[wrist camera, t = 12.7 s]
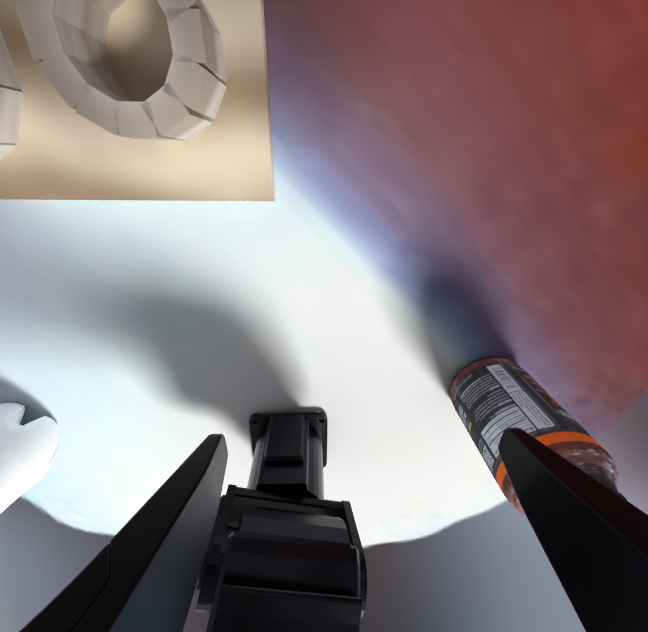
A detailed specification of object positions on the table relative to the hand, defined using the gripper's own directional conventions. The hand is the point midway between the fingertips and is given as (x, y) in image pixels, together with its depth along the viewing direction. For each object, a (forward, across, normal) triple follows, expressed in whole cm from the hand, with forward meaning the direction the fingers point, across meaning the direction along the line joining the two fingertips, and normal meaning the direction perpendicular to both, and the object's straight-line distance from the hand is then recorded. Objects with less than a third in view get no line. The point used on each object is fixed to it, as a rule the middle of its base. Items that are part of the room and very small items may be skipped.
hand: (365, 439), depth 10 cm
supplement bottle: (+12, -12, +8) cm, 19 cm away
